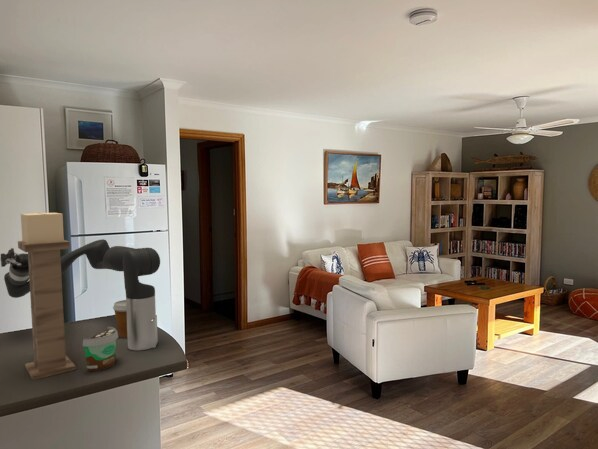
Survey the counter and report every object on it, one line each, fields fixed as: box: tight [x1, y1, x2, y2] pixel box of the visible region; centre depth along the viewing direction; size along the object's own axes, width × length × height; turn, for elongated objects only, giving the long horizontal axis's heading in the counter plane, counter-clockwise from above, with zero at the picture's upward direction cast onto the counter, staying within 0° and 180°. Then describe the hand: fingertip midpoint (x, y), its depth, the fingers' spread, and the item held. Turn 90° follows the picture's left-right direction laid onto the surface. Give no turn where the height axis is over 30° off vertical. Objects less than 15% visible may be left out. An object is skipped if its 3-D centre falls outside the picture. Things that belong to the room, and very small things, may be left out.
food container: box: [82, 326, 119, 372], centre depth 133 cm, size 12×6×10 cm, turn 168°
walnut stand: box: [17, 239, 77, 381], centre depth 130 cm, size 12×11×38 cm
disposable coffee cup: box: [112, 299, 128, 339], centre depth 160 cm, size 10×10×12 cm
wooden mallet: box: [20, 212, 65, 244], centre depth 133 cm, size 22×9×8 cm, turn 41°
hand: (27, 249), depth 148 cm, fingers open, 8 cm apart
